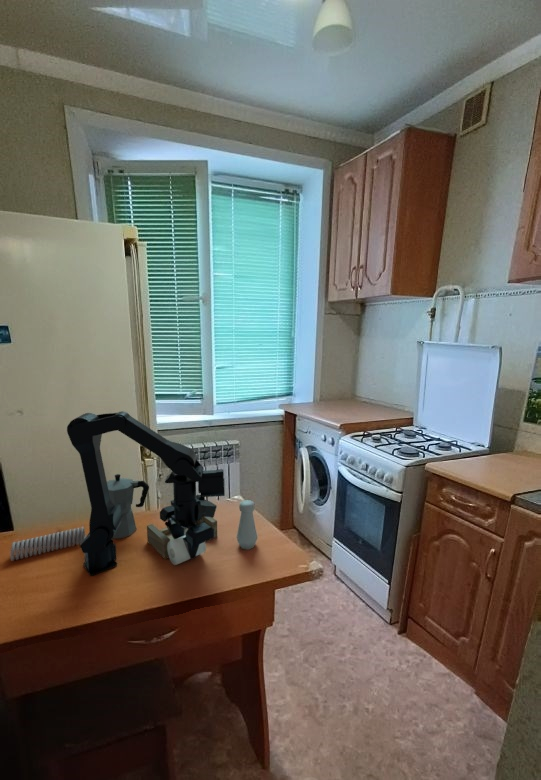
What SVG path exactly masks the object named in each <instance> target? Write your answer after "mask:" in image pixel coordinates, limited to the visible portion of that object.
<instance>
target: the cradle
mask: <svg viewBox="0 0 541 780" xmlns="http://www.w3.org/2000/svg"><path fill="white" fill-rule="evenodd" d="M203 522H204V523H206V524H207V525H209V526H210V527H212V528H213V529H214V532H215V536H214V538H213V539H215V538H217V537H218V520H217V519H215V517H213V518H211V517H202V520H199V521H198V520H196V523H197V524H201V523H203ZM187 530H188V528H185V530H184V535H186V532H187ZM146 536H147V537H146V540H147V543H148V544H149V545H150V546H151V547H152V548H153V549H154V550H155V551H157V553H158V554H159V555H160V556H161V557H162V558H163V559H165V560H167V559H169V555H168V551H167V545H168V542H169V541H172V540H174V538H173V537H172V535H171V533H170V531H169V530H168V528H167V527H165V528H162V529H159V528H158V527H157V526H155V525H154V524H153V523H149V524H148V525H146ZM211 540H212V539H210V540H209V541H211Z"/></svg>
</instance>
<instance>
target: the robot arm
mask: <svg viewBox="0 0 541 780" xmlns="http://www.w3.org/2000/svg"><path fill="white" fill-rule="evenodd" d="M116 431H118V432H120V433H121V434H122V435H125V436H127V437H128V438H129V439H131V440H132V441H134V442H136V443H138V444H139V445H141V446H142V447H144V448H145V449H147V451H149V452H151V453H153V454H155V455H157V457H158V458H160V459H161V460H162V462H163V463H164V465H165V466H166V467H167V468H168V469H169V470H171V472H170V474H168V475H167V476H166V478H165V480H164V483H165V484H172V485H173V486H172V487H173V488H172V489H173V499H172V500H170V505H167V506H165V507H162V508H161V510H160V511H159V519H160V520H161V521H162V522H163V523H164V525H165V526H166V528H168V530H169V531H170V533H171V535H172V537H173V538H174V539H177V538H179V537H182V536H184V530H185V528H188V530H187V532H186V537H185V538H183V541H184V543H185V546H186V548H187V551H188V553H189V556H190V558H191V560H193V559H195V558H196V557H197V556H196V553H197V550H198V547H199V544H201V543H203V542H205V543H207V542H208V541H211V540H213V539H215V538H214V536H215V532H214V529H213V528H212V527H210V526H209V525H207V524H206V523H204V522H203V523H201V524H197V523H196V520H198V521H199V520H202V517H211V518H215V514H216V511H217V507H218V506H217V505H216V504H215V503H213V502H212V501H209V500H207V499H205V498H209V497H210V498H213V497H225V496H226V495H225V493H226V492H225V489H226V488H225V486H226V485H225V477H224V476H225V475H224V474H225V473H224V471H225V470H224V469H222V468H221V469H216V470H212V469H211V470H204V466H203V465H202V463H200V461H199V460H198V459H197V455H196V452H195V450H193V448H191V447H189V446H187V445H183V444H182V443H178V442H173V441H171V440H169V439H167V438H165V437H164V436H162V435H161V434H159V433H158V432H156V431H155V430H153V429H152V428H150V427H148V426H147V425H145V424H144V423H142V422H140V421H139V420H137V419H136V418H134V417H133V416H132V415H130V414H129V413H128V412H127V411H124V410H122V411H118V412H110V413H101V414H95V413H93V412H86V413H83V414H81V415H79V416H77V417H75V418H73V419H72V420H70V422H69V423H68V424H67V427H66V433H67V435H68V439H69V441H70V443H71V445H72V446H73V448H74V449H75V450H76V451H77V452H78V454H79V456H80V457H79V458H80V461H81V466H82V471H83V475H84V480H85V485H86V490H87V494H88V497H89V498H88V499H89V503H90V515H89V516H90V517H89V522H88V524H89V525H88V526H89V529H88V531H89V532H88V533H87V535H85V536H86V538H85V539H84V541H83V542H82V544H79V547H80V549H81V552H82V553H83V554H84V561H83V567H84V568H85V570H86V572H87V573H88V575H89V576H91V577H92V576H94V575H97V574H100V573H102V572H105V571H107V570H109V569H112V568H115V567H117V566H118V562H117V561H116V560H117V546H116V544H115V543H114V539H112V538H113V536H114V535H115V533H116V531H117V529H118V527H119V526H120V524H121V520H122V518H123V515H122V514H121V506H120V504H117V505H114V504H113V503H112V501H111V499H110V495H109V490H108V486H107V482H108V481H107V477H106V472H105V466H104V462H103V457H102V452H101V442H102V437H103V436H102V435H103V434H104V435H105V434H107V433H111V432H116ZM197 483H198V485H197ZM197 490H198V494H197ZM210 539H211V540H210Z"/></svg>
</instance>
